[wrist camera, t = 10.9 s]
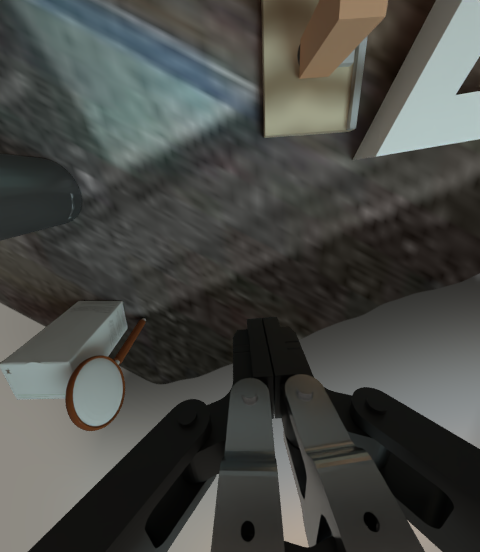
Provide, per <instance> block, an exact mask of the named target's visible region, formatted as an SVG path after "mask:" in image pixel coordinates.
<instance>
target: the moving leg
mask: <svg viewBox="0 0 480 552" xmlns="http://www.w3.org/2000/svg"><path fill="white" fill-rule="evenodd" d="M387 4H388V0H319V2H318V4H317V6H316V9H315V11H314V13H313V15H312V17H311V19H310V21H309V23H308V25H307V27H306V29H305V31H304V33H303V35H302V37H301V41H300V70H299V79H304V78H318V77H329V76H330V75H331V74H332V73H333V72H334V70H335V69H336V68H337V67H349V66H350V65H352V64H353V63H354V54H355V48H356V47H357V46H358V45H359V44H360V43H361V42H362V41H363V40H364V39H365V38H366V37H367V36H368V34H369V33H370V32H371V31H372V30H373V29H374V28H375V27H376V26H377V25H378V24H379V23H380V22H381V21H382V20H383V19H384V17H385V16H386V10H387Z"/></svg>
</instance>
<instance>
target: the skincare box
mask: <svg viewBox="0 0 480 552" xmlns="http://www.w3.org/2000/svg"><path fill="white" fill-rule="evenodd" d="M127 328H128V327H127V322H126V317H125V312H124V307H123V302H122V301H78V302H77V303H76V304H74V305H73V306H72V307H71V308H69V309H68V310H67V311H66V312H64V313H63V314H62V315H61V316H59V317H58V318H57V319H56V320H54V321H53V322H52V323H51V324H49V325H48V326H47V327H45V328H44V329H43V330H42V331H40V332H39V333H38V334H37V335H35V336H34V337H33V338H32V339H30V340H29V341H28V342H27V343H25V344H24V345H23V346H22V347H20V348H19V349H18V350H17V351H16V352H14V353H13V354H12V355H10V356H9V357H8V358H6V359H5V360H4V361H2V362H0V368H1V370H2V372H3V374H4V376H5V377H6V380H7V381H8V383H9V385H10V387H11V389H12V391H13V393H14V395H15V397H16V398H17V399H53V398H54V399H55V398H65V396H66V389H67V385H68V381H69V379H70V377H71V375H72V373H73V372H74V370H75V369H76V368H77V366H78V365H79V364H80V363H82V362H83V361H84V360H86V359H88V358H90V357H93V356H98V355H103V356H107V357H108V356H109V354H110V353H111V351H112V350H113V348H114V347H115V346H116V344H117V343H118V341H119V340H120V338H121V337H122V335H123V334H124V333H125V331H126V330H127Z"/></svg>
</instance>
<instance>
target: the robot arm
mask: <svg viewBox="0 0 480 552" xmlns="http://www.w3.org/2000/svg"><path fill="white" fill-rule="evenodd" d="M81 206H82V198H81V193H80V190H79V187H78V185H77V183H76V181H75V180H74V178H73V177H72V176H71V175H70V173H69V172H68V171H66V170H65V169H64V168H63V167H62V166H60V165H59V164H57V163H55V162H53V161H51V160H48V159H44V158H36V157H27V156H18V155H9V154H0V241H1V240H5V239H8V238H12V237H16V236H20V235H23V234H27V233H31V232H35V231H38V230H42V229H46V228H50V227H54V226H57V225H61V224H65V223H68V222H70V221H72V220H73V219H75V218H76V217H77V215H78V214H79V212H80V210H81ZM247 327H248V329H246V330H237V332H236V333H235V335H234V337H233V386H232V388H231V390H230V392H229V393H228V394H227V395H226V396H225V397H224V398H222V399H221V400H219V401H216V402H214V403H211V404H210V405H206V404H205V403H204V402H202V401H200V400H196V399H190V400H186V401H183V402H181V403H180V404H178V405H177V406H176V407H174V408H173V409H172V410H171V411H170V413H168V414H167V415H166V417H164V418H163V419H162V420H161V421H160V422H159V423H158V424H157V425H156V426H155V427H154V428H153V429H152V430H151V431H150V432H149V433H148V434H147V435H146V436H145V437H144V438H143V439H142V440H141V441H140V442H139V443H138V444H137V445H136V446H135V447H134V448H133V449H132V450H131V451H130V452H129V453H128V454H127V455H126V456H125V457H124V458H123V459H122V460H121V461H120V462H119V463H118V464H117V465H116V466H115V467H114V468H113V469H112V470H110V471H109V472H108V473H107V474H106V475H105V476H104V477H103V478H102V479H101V481H99V482H98V483H97V484H96V485H95V486H94V487H93V488H92V489H91V490H90V491H89V492H88V493H87V494H86V495H85V496H84V497H83V498H82V499H81V500H80V501H79V502H78V503H77V504H76V505H75V506H74V507H73V508H72V509H71V510H70V511H69V512H68V513H67V514H66V515H65V516H64V517H63V518H62V519H61V520H60V521H59V522H58V523H57V524H56V525H55V526H54V527H53V528H52V529H51V530H50V531H49V532H48V533H46V535H44V536H43V538H41V540H40V541H38V542H37V543H36V544H35V545H34V546H33V547H32V548H31V549H30V550H29V551H28V552H167V551H168V549H169V548H170V546H171V545H172V543H173V542H174V540H175V539H176V537H177V536H178V534H179V533H180V531H181V530H182V528H183V526H184V525H185V523H186V522H187V520H188V519H189V517H190V516H191V514H192V513H193V511H194V510H195V508H196V507H197V505H198V504H199V502H200V500H201V499H202V497H203V496H204V495H205V493H206V491H207V490H208V488H209V487H210V485H211V484H212V482H213V481H214V479H215V477H216V475H217V474H219V480H218V490H217V499H216V508H215V518H214V527H213V536H212V546H211V552H425V551H424V549H423V547H422V546H421V544H420V542H419V540H418V539H417V537H416V535H415V533H414V531H413V530H412V528H411V526H410V524H409V523H408V521H409V522H410V523H411V524H412V525H414V526H415V527H416V528H417V529H418V530H419V531H420V532H421V533H422V534H424V535H425V536H426V537H427V538H428V539H429V540H430V541H431V542H432V543H433V544H435V545H436V546H437V547H438V548H439V549H440V550H441V551H442V552H480V449H479V448H477V447H475V446H473V445H472V444H470V443H468V442H467V441H465V440H463V439H462V438H460V437H458V436H456V435H455V434H453V433H451V432H450V431H448V430H446V429H444V428H443V427H441V426H439V425H438V424H436V423H435V422H433V421H431V420H429V419H428V418H426V417H424V416H423V415H421V414H419V413H418V412H416V411H414V410H412V409H411V408H409V407H407V406H406V405H404V404H402V403H401V402H398V401H397V400H396V399H394V398H392V397H390V396H389V395H387V394H385V393H383V392H382V391H380V390H377V389H374V388H367V387H364V388H360V389H357V390H356V391H355V392H354V393H353V396H351V395H346V394H342V393H337V392H334V391H331V390H328V389H326V388H325V387H323V385H322V384H321V383H320V382H319V381H318V380H317V379H315V378H314V376H313V375H312V372H311V369H310V367H309V364H308V362H307V360H306V357H305V355H304V352H303V350H302V348H301V345H300V342H299V340H298V338H297V335H296V333H295V332H294V331H293V330H292V329H291V328H290V327H289V326H287V327H280V325H279V321H278V318H277V317H269V318H262V319H261V318H256V319H247ZM273 414H275V418H282V422H283V427H284V442H285V445H286V449H287V453H288V457H289V460H290V464H291V468H292V472H293V475H294V479H295V483H296V487H297V490H298V494H299V498H300V502H301V507H302V513H303V521H304V526H305V532H306V536H307V540H308V544H309V547H308V548H306V547H302V546H299V545H295V544H292V543H289V542H286V541H284V537H283V526H282V515H281V505H280V494H279V482H278V472H277V463H276V459H275V451H274V440H273V428H272V419H273V418H274V415H273ZM407 520H408V521H407Z"/></svg>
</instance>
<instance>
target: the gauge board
mask: <svg viewBox="0 0 480 552" xmlns="http://www.w3.org/2000/svg"><path fill="white" fill-rule="evenodd" d="M318 2H319V0H261V9H262V63H263V118H264V138H269V137H283V136H297V135H311V134H325V133H339V132H350V131H352V130H354V129H355V128H356V124H357V116H358V108H359V100H360V92H361V84H362V76H363V68H364V60H365V52H366V44H367V37H366V38H365V39H364V40H363V41H362V42H361V43H360V44H359V45H358V46H357V47H356V48H355V54H354V63H353V64H352V65H350V66H349V67H337V68H336V69H335V70H334V72H333V73H332V74H331V75H330V76H329V77H318V78H304V79H299V70H300V41H301V37H302V35H303V33H304V31H305V29H306V27H307V25H308V23H309V21H310V19H311V17H312V15H313V13H314V11H315V9H316V6H317V4H318Z"/></svg>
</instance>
